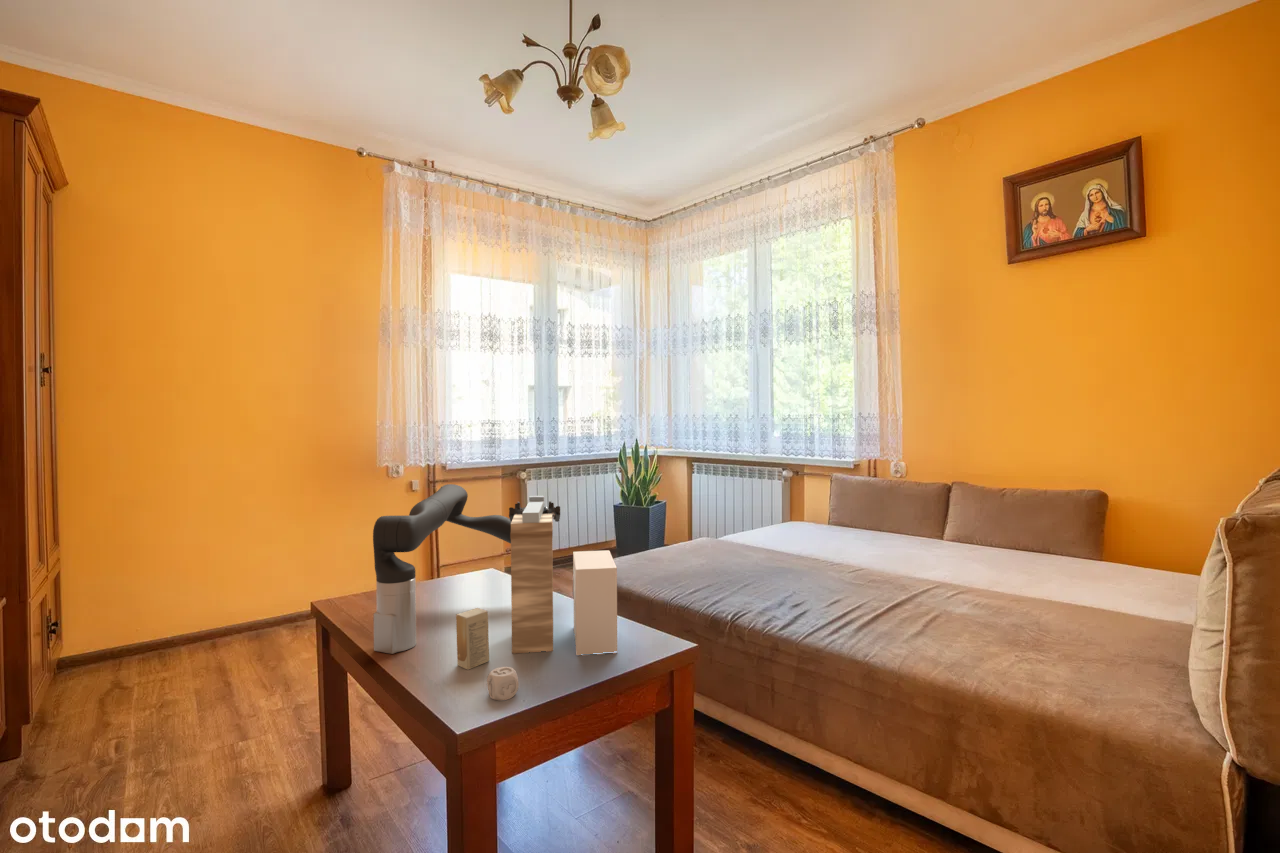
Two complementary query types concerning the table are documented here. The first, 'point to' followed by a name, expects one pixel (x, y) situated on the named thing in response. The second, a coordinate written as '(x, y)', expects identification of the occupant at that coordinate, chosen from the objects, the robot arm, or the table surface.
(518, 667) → the table surface
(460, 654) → the skincare box
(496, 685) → the die
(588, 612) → the block
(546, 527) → the tall brown wood-grain block
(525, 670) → the table surface
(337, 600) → the table surface
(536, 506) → the pale blue-grey block
